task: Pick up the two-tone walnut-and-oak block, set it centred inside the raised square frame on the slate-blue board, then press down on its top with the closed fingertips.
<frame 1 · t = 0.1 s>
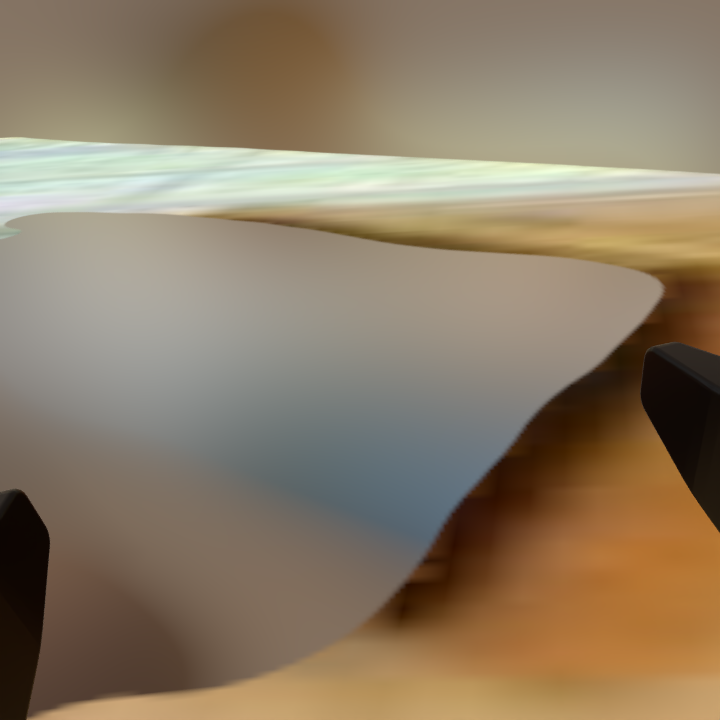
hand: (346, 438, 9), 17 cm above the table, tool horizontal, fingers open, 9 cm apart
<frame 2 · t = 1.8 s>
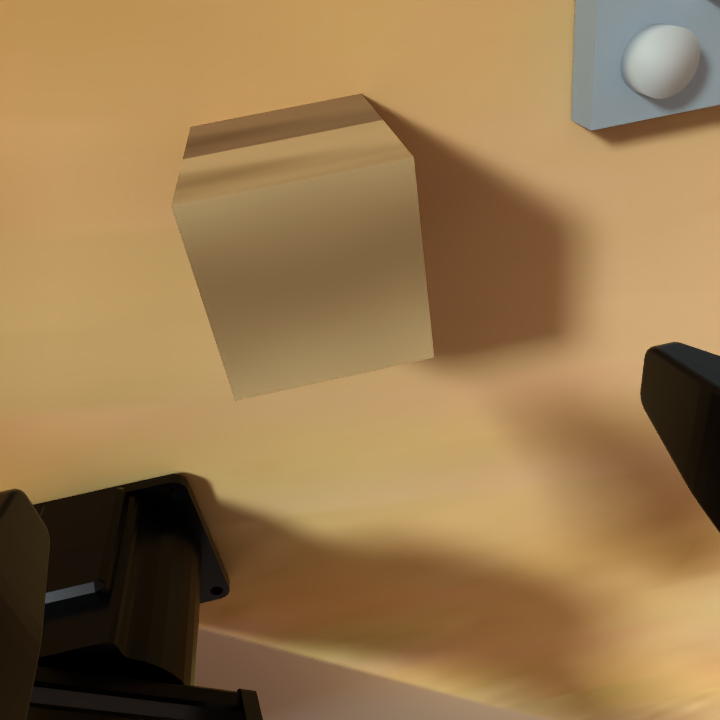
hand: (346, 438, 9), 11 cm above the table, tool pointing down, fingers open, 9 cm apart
block: (294, 193, 18), on the table
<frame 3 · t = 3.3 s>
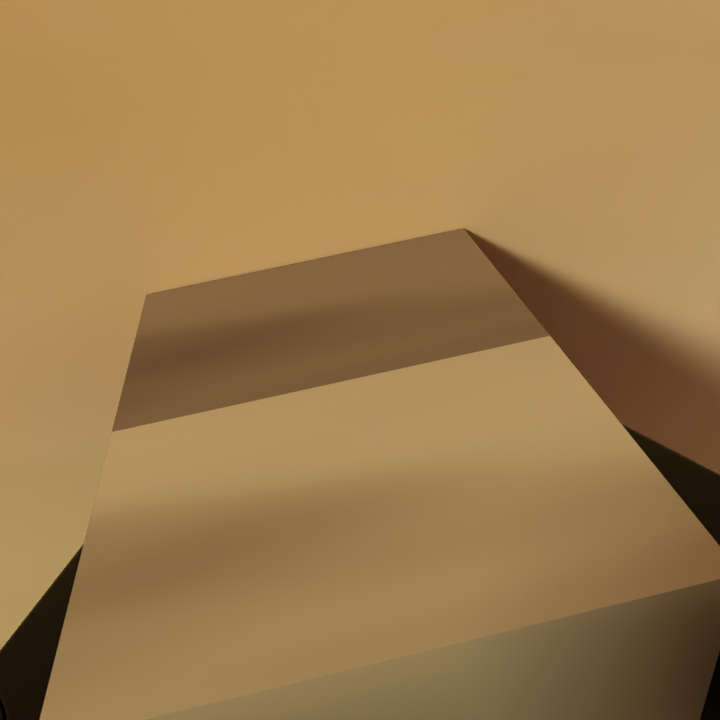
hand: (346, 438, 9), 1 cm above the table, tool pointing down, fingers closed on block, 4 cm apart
block: (334, 389, 10), on the table, touching gripper
when the fingers open (4 cm above the table, at t = 6.8 s): block drops 2 cm, resting on board.
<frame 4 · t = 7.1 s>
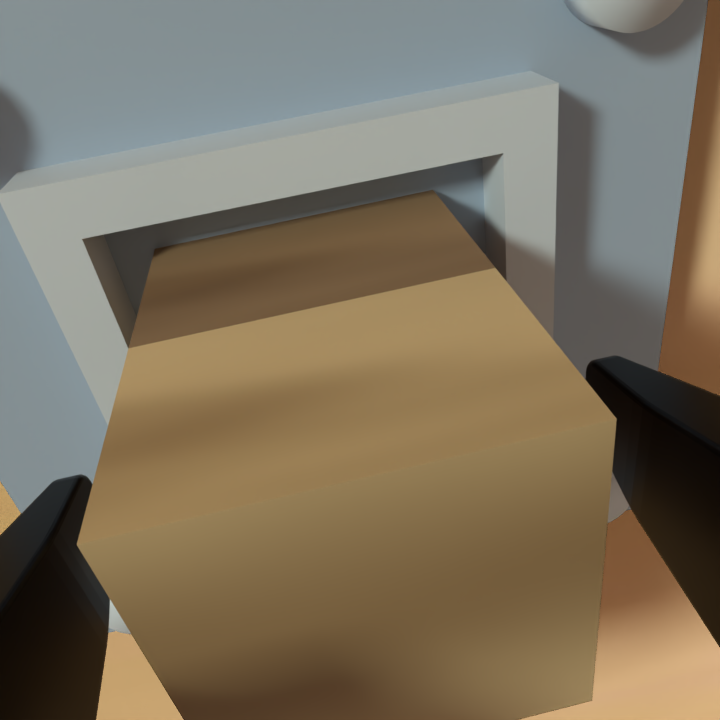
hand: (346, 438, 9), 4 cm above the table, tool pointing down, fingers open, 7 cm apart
board: (318, 306, 12), on the table
block: (322, 337, 11), point 1 cm above the table, touching board
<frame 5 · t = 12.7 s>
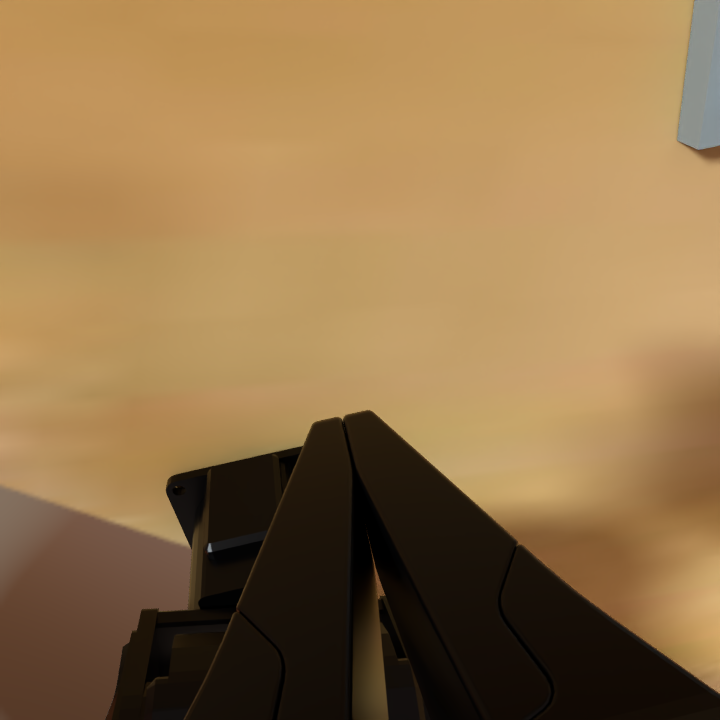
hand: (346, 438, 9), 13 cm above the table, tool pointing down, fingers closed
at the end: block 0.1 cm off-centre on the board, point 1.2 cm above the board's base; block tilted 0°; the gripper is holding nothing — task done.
